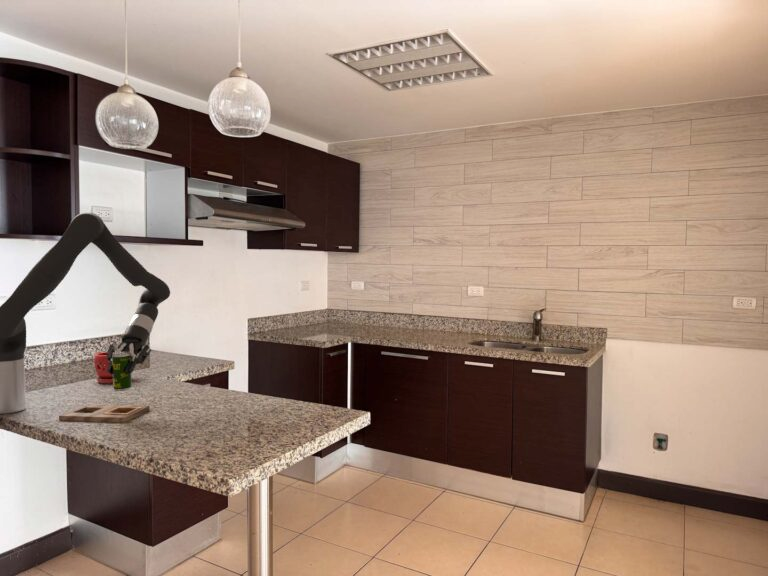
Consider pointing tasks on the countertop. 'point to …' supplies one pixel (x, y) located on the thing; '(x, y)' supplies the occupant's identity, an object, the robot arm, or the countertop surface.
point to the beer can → (121, 371)
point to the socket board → (104, 413)
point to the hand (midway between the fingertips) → (118, 373)
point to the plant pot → (102, 368)
